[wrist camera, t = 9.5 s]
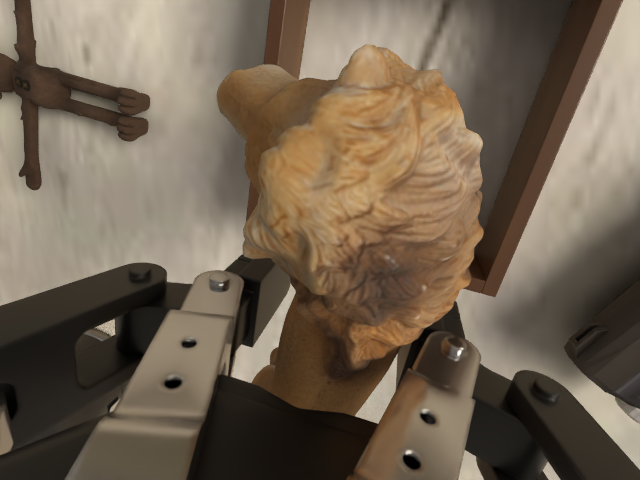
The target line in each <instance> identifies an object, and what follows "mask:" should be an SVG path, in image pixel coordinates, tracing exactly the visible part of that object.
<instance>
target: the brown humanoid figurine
mask: <svg viewBox="0 0 640 480" xmlns="http://www.w3.org/2000/svg"><path fill="white" fill-rule="evenodd" d="M14 1H15V11H14V13H15V17H16V24H17V44H14V46H15V49H16V51H17V53H18V55H19V61H18V62H15V61H14V60H13V59H11V58H9V57H8V56H6V55H4V54H1V53H0V99H1V98H2V92H14V91H15V92H16V94H18V95H19V96H20V97H21V98H22V105H21V110H22V116H21V120H23V126H24V152H25V161H24V165H23V167H22V169H21V170H20V172H19V176H20V177H22V176H26V184H27V186H28V187H29V188H30V189H32V190H38V189H39V188H40V186H41V171H40V164H39V153H38V106H42V107H45V108H50V109H61V110H64V111H68V112H71V113H74V114H77V115H79V116H85V117H88V118H92V119H95V120H99V121H102V122H105V123H107V124H109V125H111V126H117V127H116V128H117V130H118V131H119V133H118V136H119V137H120V138H121V139H122V140H124V141H134V140H136V139H137V138H138V137H140V136H142V135H144V134H146V133H147V132H148V121H147V120H146V119H144V118H139V117H132V116H128V115H135V114H137V113H139V112H142V111H146V110H147V109H148V108H149V106H150V97H149V96H148V95H146V94H142V93H139V92H137V91H135V90H132V89H127V88H117V87H113V86H110V85H106V84H103V83H99V82H96V81H92V80H89V79H85V78H82V77H78V76H75V75H71V74H68V73H65V72H62V71H60V69H57V68H49V67H43V66H40V65H38V64H36V56H35V48H36V40H35V39H34V33H33V23H32V13H31V2H30V0H14ZM71 88H72V89H76V90H79V91H83V92H86V93H90V94H93V95H97V96H100V97H103V98H107V99H110V100H113V101H116V102H118V103H119V104H120V105H119V106H118V109H119V111H120V112H122V113H123V114H121V113H118V112H114V111H111V110H107V109H104V108H100V107H97V106H93V105H90V104H86V103H83V102H79V101H76V100H72V99H70V96H71ZM125 114H126V115H125Z"/></svg>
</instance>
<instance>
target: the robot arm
mask: <svg viewBox="0 0 640 480" xmlns="http://www.w3.org/2000/svg"><path fill="white" fill-rule="evenodd" d="M290 284H291V280H290V276H289V275H288V274H286V273H285V272H284V271H283V270H282V269H281V268H280V267H279V266H278V265H277V264H276V263H274V262H273V261H272V259H271V258H261V259H251V258H247V257H244V255H241V256H240V257H239V258H238V260H237V259H236V260H235V261H234V262H233V263H232V264H231V265H230V266H229V267H228V268H226V269H225V270H224V271H221V270H215V271H207V272H204V273H202V274H200V275H198V276H197V277H196V278H195V280H194V282H193V284H182V283H171V282H167V272H166V270H165V269H164V268H163V267H161V266H159V265H156V264H151V263H132V264H127V265H124V266H121V267H118V268H115V269H112V270H109V271H106V272H103V273H100V274H97V275H94V276H91V277H87V278H84V279H81V280H78V281H75V282H72V283H69V284H66V285H63V286H60V287H57V288H54V289H51V290H48V291H45V292H42V293H39V294H36V295H33V296H30V297H27V298H24V299H21V300H18V301H14V302H11V303H8V304H5V305H2V306H0V480H458V478H459V473H460V469H461V464H462V460H463V455H464V451H465V450H466V451H468V452H470V453H471V454H473V455H475V456H476V461H477V465H478V468H479V470H480V472H481V474H482V476H483V478H484V480H548V478H547V477H546V475H545V474H544V472H543V469H544V467H545V466H546V464H547V462H549V463H550V465H551V466H552V468H553V469H554V471H555V472H556V474H557V475H558V476H559V478H560V479H561V480H640V470H639V469H638V468H637V466H636V465H635V464H634V463H633V462H632V461H631V460H630V459H629V457H628V456H627V455H626V454H625V453H624V452H623V451H622V450H621V449H620V447H619V446H618V445H617V444H616V443H615V442H614V441H613V440H612V439H611V437H610V436H609V435H608V434H607V433H606V432H605V431H604V430H603V428H602V427H601V426H600V425H599V424H598V423H597V422H596V421H595V420H594V418H593V417H592V416H591V415H590V414H589V413H588V412H587V411H586V410H585V408H584V407H583V406H582V405H581V404H580V403H579V402H578V401H577V399H576V398H575V397H574V396H573V395H572V394H571V393H570V392H569V391H568V390H567V389H566V388H565V387H564V386H562V385H561V384H560V383H558V382H557V381H555V380H553V379H551V378H550V377H548V376H545V375H543V374H540V373H538V372H534V371H528V370H523V371H519V372H517V373H516V374H515V376H514V378H513V380H512V381H511V380H509V379H507V378H505V377H503V376H501V375H499V374H497V373H495V372H493V371H491V370H489V369H488V368H486V367H484V366H483V365H482V364H480V361H481V355H480V353H479V351H478V349H477V348H476V347H475V346H474V345H473V344H472V343H471V342H469V341H468V340H466V339H465V335H464V331H463V327H462V323H461V320H460V314H459V313H458V312H459V310H458V306H457V302H456V301H454V305H453V307H452V308H451V310H450V311H449V312H448V313H446V314H445V315H444V316H443V317H442V318H441V319H439V320H438V321H436V322H434V323H432V324H431V325H430V326H428V327H425V329H424V330H423V332H422V333H421V335H420V336H419V338H418V339H417V340H414V341H413V342H412V343H410V344H407V345H402V346H401V348H400V349H399V351H398V357H397V378H396V392H395V394H394V396H393V397H392V399H391V401H390V403H389V405H388V407H387V409H386V411H385V413H384V414H383V416H382V418H381V420H380V422H379V424H377V423H374V422H370V421H367V420H364V419H361V418H358V417H355V416H352V415H349V414H345V413H340V412H330V411H320V410H310V409H301V408H297V407H295V406H293V405H291V404H289V403H287V402H286V401H284V400H282V399H281V398H279V397H277V396H275V395H274V394H272V393H270V392H268V391H267V390H265V389H263V388H262V387H260V386H258V385H254V384H251V383H248V382H245V381H242V380H239V379H236V378H233V377H232V373H233V368H234V364H235V359H236V350H237V349H238V348H239V346H240V345H241V344H242V345H246V346H249V347H253V346H254V344H255V342H256V341H257V339H258V338H259V336H260V335H261V333H262V332H263V330H264V329H265V327H266V325H267V324H268V322H269V321H270V319H271V318H272V316H273V315H274V313H275V311H276V310H277V308H278V307H279V305H280V304H281V302H282V301H283V299H284V298H285V296H286V294H287V292H288V290H289V287H290ZM112 319H115V335H114V336H112V337H110V336H109V335H107V334H105V333H103V332H101V331H98V330H95V329H92V328H94V327H97V326H99V325H101V324H103V323H106V322H108V321H110V320H112Z"/></svg>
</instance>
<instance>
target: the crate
mask: <svg viewBox="0 0 640 480" xmlns="http://www.w3.org/2000/svg"><path fill="white" fill-rule="evenodd" d="M622 2H623V0H573V1H572V4H571V6H570V9H569V11H568V14H567V17H566V19H565V22H564V24H563V27H562V30H561V32H560V35H559V37H558V40H557V43H556V45H555V48H554V50H553V53H552V56H551V58H550V61H549V63H548V66H547V69H546V71H545V74H544V76H543V79H542V82H541V84H540V87H539V89H538V92H537V94H536V97H535V100H534V102H533V105H532V107H531V110H530V113H529V115H528V118H527V120H526V123H525V126H524V128H523V131H522V133H521V136H520V139H519V141H518V144H517V146H516V149H515V152H514V154H513V157H512V159H511V162H510V165H509V167H508V170H507V172H506V175H505V177H504V180H503V183H502V185H501V188H500V190H499V193H498V196H497V198H496V201H495V203H494V206H493V209H492V211H491V214H490V216H489V219H488V222H487V224H486V227H485V229H484V234H483V237H482V239H481V240H480V242H479V245H478V248H477V250H476V253H475V254H474V258H473V260H472V262H471V264H470V266H469V272H470V275H471V281H470V283H469V285H468V286H467V287H465V288H463V289H467V290H470V291H474V292H478V293H482V294H486V295H489V296H493V297H495V296H496V294H497V292H498V290H499V287H500V285H501V283H502V280H503V278H504V276H505V273H506V271H507V269H508V266H509V264H510V262H511V259H512V257H513V255H514V253H515V250H516V248H517V246H518V243H519V241H520V239H521V236H522V234H523V232H524V229H525V227H526V225H527V222H528V220H529V218H530V215H531V213H532V211H533V208H534V206H535V204H536V202H537V199H538V197H539V195H540V192H541V190H542V188H543V185H544V183H545V181H546V178H547V176H548V174H549V171H550V169H551V167H552V164H553V162H554V160H555V157H556V155H557V153H558V151H559V148H560V146H561V144H562V141H563V139H564V137H565V134H566V132H567V130H568V127H569V125H570V123H571V120H572V118H573V116H574V113H575V111H576V109H577V106H578V104H579V102H580V99H581V97H582V95H583V93H584V90H585V88H586V86H587V83H588V81H589V79H590V76H591V74H592V72H593V69H594V67H595V65H596V62H597V60H598V58H599V55H600V53H601V51H602V48H603V46H604V44H605V42H606V39H607V37H608V35H609V32H610V30H611V28H612V25H613V23H614V21H615V18H616V16H617V14H618V11H619V9H620V7H621V4H622ZM309 6H310V0H271V3H270V12H269V21H268V30H267V39H266V48H265V57H264V65H269V64H271V65H276V66H279V67H281V68H282V69H284V70H285V71H287V72H288V73H289V74H290V75H292V76H293V77H294V78H296V79H298V80H299V73H300V67H301V60H302V53H303V46H304V40H305V33H306V26H307V19H308V12H309ZM258 199H259V193H258V191H257V190H256V188H255V187H254V186H253V184H252V183H251V181H250V190H249V199H248V208H247V217H246V221H247V220H248V219H249V217H250V216H251V214H252V212H253V211H254V209H255V207H256V206H257V204H258Z"/></svg>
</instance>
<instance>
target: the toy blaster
mask: <svg viewBox="0 0 640 480" xmlns="http://www.w3.org/2000/svg"><path fill="white" fill-rule="evenodd" d="M564 349H565V351H566V353H567V354H568V356H569V357H570V359H571V360H572V361H573V362H574V364H575V365H576V366H577V367H578V368H579V369H580V371H581V372H582V373H583V374H584V375H586V376H587V377H588V378H589V379H590V380H591V381H593V382H594V383H595V384H596V385H598V386H599V387H600V388H601V389H602V390H604V391H605V392H608V393H609V394H611V395H613V396H615V400H616V402H617V404H618V405H619V406H620V408H621V409H622V410H623V411H624V412H625V413H626V414H627V415H628V416H630V417H631V418H632V419H633V420H634V421H636V422H637V423H639V424H640V280H638V281H637V282H636V283H635V284H634V285H632V286H631V287H630V288H629V289H628V290H626V291H625V292H624V293H623V294H621V295H620V296H619V297H618V298H617V299H615V300H614V301H613V302H612V303H611V304H609V305H608V306H607V307H606V308H604V309H603V310H602V311H601V312H600V313H598V314H597V315H596V316H595V318H594V319H593V320H592V321H591V322H590V323H588V324H586V325H585V326H584V327H583V328H582V329H580V330H579V331H578V332H577V333H576V334H574V335H573V336H572V337H571V338H570V339H569V341H568V342H567V343H566V345H565V346H564Z"/></svg>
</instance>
